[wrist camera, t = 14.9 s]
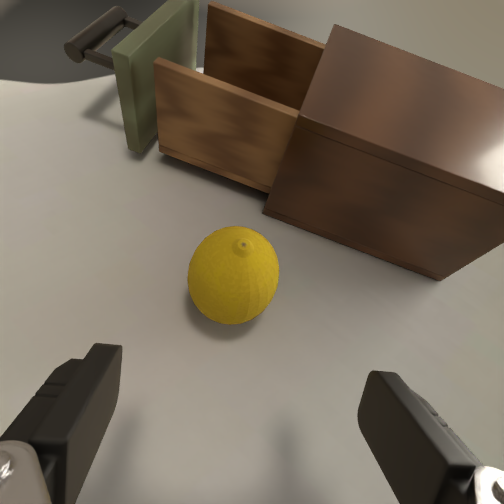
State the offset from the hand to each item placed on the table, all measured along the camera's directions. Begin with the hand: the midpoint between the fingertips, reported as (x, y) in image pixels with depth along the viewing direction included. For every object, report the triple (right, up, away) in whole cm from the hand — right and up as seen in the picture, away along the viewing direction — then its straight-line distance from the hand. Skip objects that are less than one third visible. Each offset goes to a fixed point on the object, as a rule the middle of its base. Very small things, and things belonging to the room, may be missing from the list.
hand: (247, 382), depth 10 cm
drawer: (-4, +16, +20) cm, 26 cm away
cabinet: (+11, +10, +21) cm, 26 cm away
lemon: (-2, +1, +13) cm, 14 cm away
